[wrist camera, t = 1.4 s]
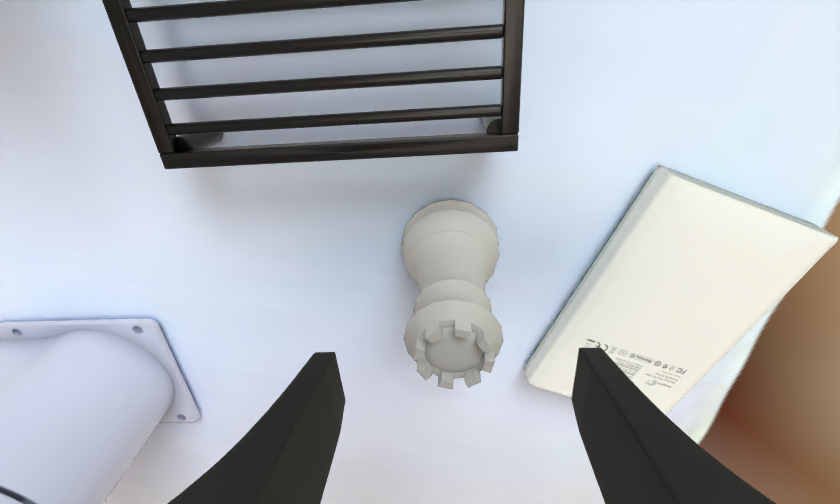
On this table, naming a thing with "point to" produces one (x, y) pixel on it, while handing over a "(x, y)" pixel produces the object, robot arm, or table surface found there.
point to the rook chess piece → (452, 291)
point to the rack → (316, 88)
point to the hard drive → (678, 287)
